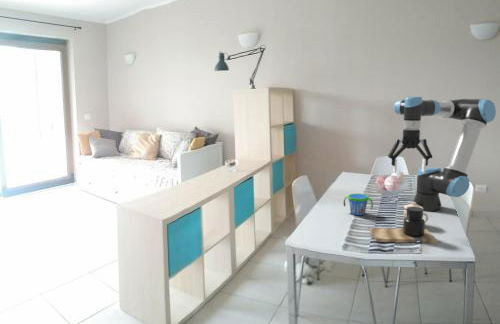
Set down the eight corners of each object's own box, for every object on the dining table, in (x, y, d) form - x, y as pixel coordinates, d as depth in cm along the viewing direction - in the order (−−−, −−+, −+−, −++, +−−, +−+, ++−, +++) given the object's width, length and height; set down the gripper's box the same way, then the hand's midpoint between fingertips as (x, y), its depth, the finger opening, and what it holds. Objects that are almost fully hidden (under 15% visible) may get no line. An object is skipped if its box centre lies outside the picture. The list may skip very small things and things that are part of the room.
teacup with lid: (399, 224, 187) (400, 202, 185) (408, 220, 192) (409, 198, 190) (422, 230, 178) (424, 207, 175) (431, 226, 183) (433, 203, 181)
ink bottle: (419, 230, 175) (420, 205, 172) (428, 237, 166) (430, 211, 164) (398, 230, 174) (400, 206, 172) (407, 237, 166) (409, 212, 163)
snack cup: (340, 214, 204) (340, 196, 202) (347, 209, 213) (347, 191, 211) (368, 219, 195) (369, 200, 193) (374, 213, 204) (375, 195, 202)
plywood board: (426, 232, 176) (426, 229, 176) (436, 243, 163) (437, 239, 163) (369, 231, 179) (370, 228, 178) (376, 241, 166) (376, 238, 166)
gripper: (386, 130, 176) (384, 173, 180) (441, 129, 174) (438, 173, 177) (382, 128, 183) (380, 170, 187) (435, 128, 181) (432, 170, 185)
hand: (408, 172), depth 182 cm, fingers open, 13 cm apart
